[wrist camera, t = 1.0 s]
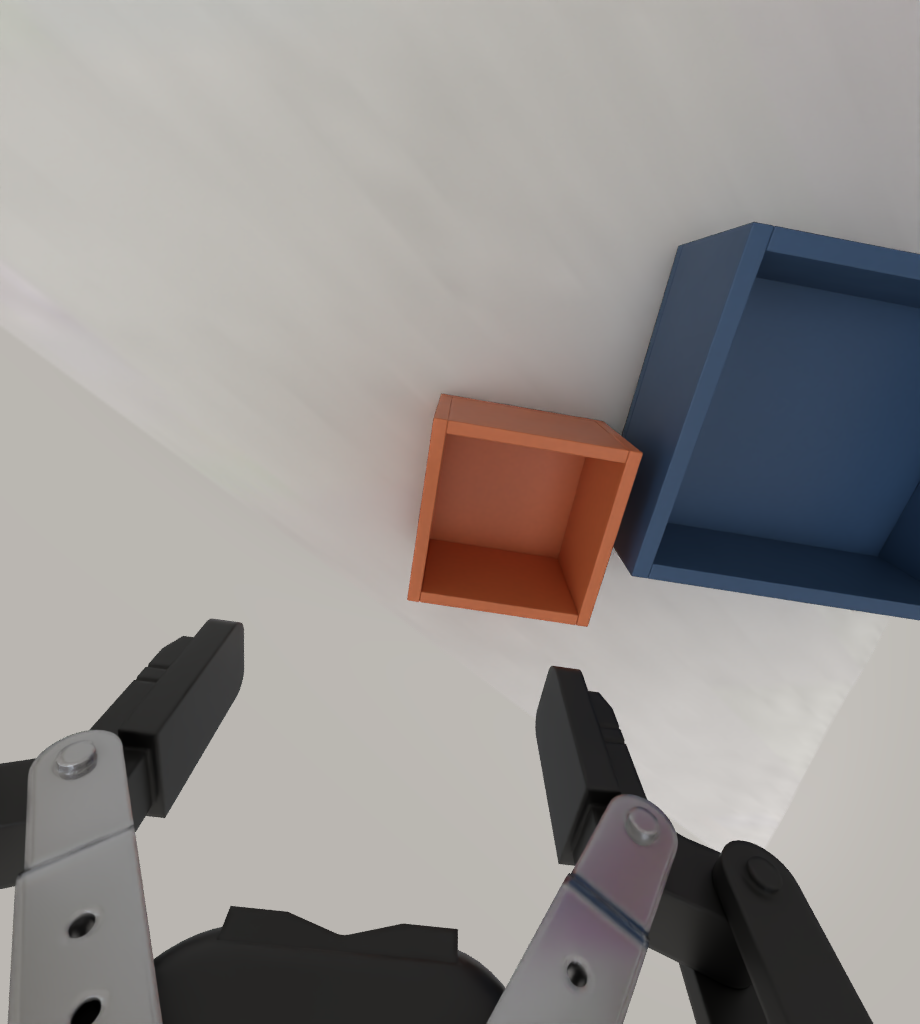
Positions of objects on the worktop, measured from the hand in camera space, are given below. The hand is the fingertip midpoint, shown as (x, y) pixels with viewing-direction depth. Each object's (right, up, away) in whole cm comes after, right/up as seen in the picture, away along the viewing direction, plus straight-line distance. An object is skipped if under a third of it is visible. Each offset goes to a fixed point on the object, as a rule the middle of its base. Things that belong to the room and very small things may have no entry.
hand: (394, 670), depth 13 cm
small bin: (+4, +6, +15) cm, 17 cm away
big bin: (+20, +9, +14) cm, 26 cm away
